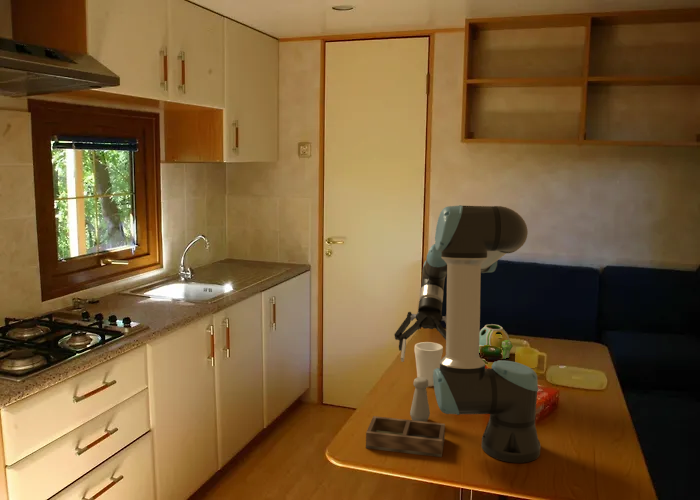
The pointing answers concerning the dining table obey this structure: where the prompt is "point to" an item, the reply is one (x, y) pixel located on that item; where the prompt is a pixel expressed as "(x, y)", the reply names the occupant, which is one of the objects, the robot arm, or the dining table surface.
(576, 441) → the dining table surface
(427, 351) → the foam cup
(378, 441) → the wooden compartment tray
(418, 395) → the salt shaker
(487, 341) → the turtle holder
